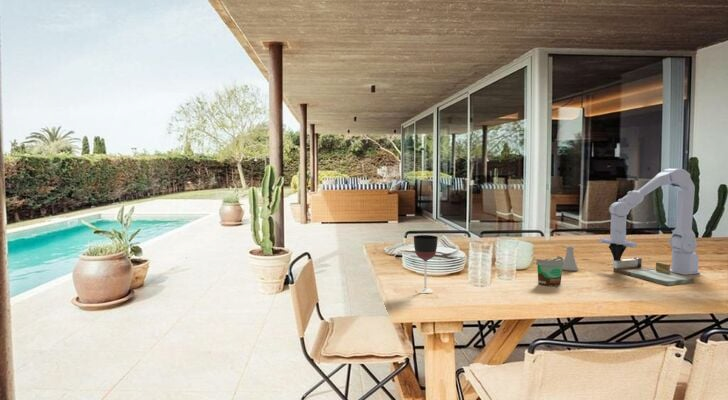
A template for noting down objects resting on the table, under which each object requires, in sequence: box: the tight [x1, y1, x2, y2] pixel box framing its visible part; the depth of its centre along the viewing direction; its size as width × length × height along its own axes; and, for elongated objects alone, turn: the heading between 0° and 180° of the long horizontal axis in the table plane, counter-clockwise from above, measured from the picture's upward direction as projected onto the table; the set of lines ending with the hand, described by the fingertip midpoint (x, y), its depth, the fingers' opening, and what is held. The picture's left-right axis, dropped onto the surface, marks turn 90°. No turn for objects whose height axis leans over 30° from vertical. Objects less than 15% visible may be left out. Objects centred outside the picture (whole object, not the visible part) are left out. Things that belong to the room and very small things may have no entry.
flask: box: [562, 245, 579, 272], centre depth 195 cm, size 7×7×10 cm
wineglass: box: [413, 234, 439, 292], centre depth 163 cm, size 8×9×20 cm
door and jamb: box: [613, 261, 694, 286], centre depth 182 cm, size 14×24×5 cm, turn 18°
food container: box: [535, 255, 565, 287], centre depth 171 cm, size 12×6×10 cm, turn 117°
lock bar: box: [612, 257, 643, 269], centre depth 191 cm, size 14×3×4 cm, turn 108°
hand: (616, 261), depth 192 cm, fingers closed
